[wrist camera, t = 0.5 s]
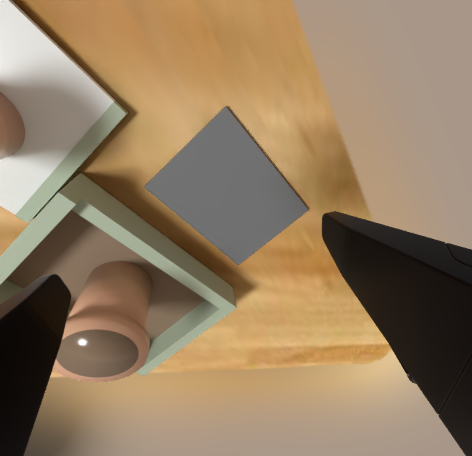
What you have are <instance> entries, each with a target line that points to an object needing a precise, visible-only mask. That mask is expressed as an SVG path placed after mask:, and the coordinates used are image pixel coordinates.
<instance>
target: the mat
mask: <svg viewBox="0 0 472 456" xmlns="http://www.w3.org/2000/svg"><path fill="white" fill-rule="evenodd" d="M145 188H146V189H147V190H148V191H150V192H151V193H152V194H153V195H154V196H156V197H157V198H158V199H159V200H160V201H162V202H163V203H164V204H165V205H166V206H168V207H169V208H170V209H171V210H172V211H174V212H175V213H176V214H177V215H178V216H180V217H181V218H182V219H183V220H185V221H186V222H187V223H188V224H189V225H191V226H192V227H193V228H194V229H195V230H197V231H198V232H199V233H200V234H201V235H203V236H204V237H205V238H206V239H207V240H209V241H210V242H211V243H212V244H213V245H215V246H216V247H217V248H218V249H219V250H221V251H222V252H223V253H224V254H225V255H227V256H228V257H229V258H230V259H231V260H233V261H234V262H235V263H236V264H237V265H239V264H240V263H242V262H243V261H244V260H246V259H247V258H248V257H249V256H251V255H252V254H253V253H254V252H256V251H257V250H258V249H260V248H261V247H262V246H263V245H265V244H266V243H267V242H269V241H270V240H271V239H272V238H274V237H275V236H276V235H277V234H279V233H280V232H281V231H283V230H284V229H285V228H286V227H288V226H289V225H290V224H291V223H293V222H294V221H295V220H297V219H298V218H299V217H300V216H302V215H303V214H304V213H306V212H307V211H308V208H307V207H306V206H305V205H304V203H303V202H302V201H301V200H300V198H299V197H298V196H297V195H296V193H295V192H294V191H293V190H292V188H291V187H290V186H289V185H288V183H287V182H286V181H285V180H284V178H283V177H282V176H281V175H280V173H279V172H278V171H277V170H276V168H275V167H274V166H273V165H272V163H271V162H270V161H269V160H268V158H267V157H266V156H265V155H264V153H263V152H262V151H261V150H260V148H259V147H258V146H257V145H256V143H255V142H254V141H253V140H252V138H251V137H250V136H249V135H248V133H247V132H246V131H245V130H244V128H243V127H242V126H241V125H240V123H239V122H238V121H237V120H236V118H235V117H234V116H233V115H232V113H231V112H230V111H229V110H228V108H227V107H226V106H225V107H224V108H223V109H222V110H221V111H220V112H219V113H218V114H217V115H216V116H215V117H214V118H213V119H212V120H211V121H210V122H209V123H208V124H207V125H206V126H205V127H204V128H203V129H202V130H201V131H200V132H199V133H198V134H197V135H196V136H195V137H194V138H193V139H192V140H191V141H190V142H189V143H188V144H187V145H186V146H185V147H184V148H183V149H182V150H181V151H180V152H179V153H178V154H177V155H176V156H175V157H174V158H173V159H172V160H171V161H170V162H169V163H168V164H167V165H166V166H165V167H164V168H163V169H162V170H161V171H160V172H159V173H158V174H157V175H156V176H155V177H154V178H153V179H151V180H150V181H149V182H148V183H147V184H146V185H145Z"/></svg>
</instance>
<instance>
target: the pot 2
mask: <svg viewBox="0 0 472 456" xmlns="http://www.w3.org/2000/svg"><path fill="white" fill-rule="evenodd" d="M152 289H153V283H152V279H151V277H150V276H149V274H148V273H147V272H146V271H145V270H144V269H142V268H141V267H139V266H137V265H135V264H132V263H129V262H123V261H113V262H107V263H104V264H101V265H99V266H98V267H96V268H95V269H94V270H93V271H92V272H91V273H90V275H89V277H88V279H87V281H86V283H85V285H84V287H83V289H82V291H81V293H80V295H79V297H78V299H77V301H76V303H75V305H74V307H73V309H72V310H71V312H70V314H69V316H68V318H67V320H66V325H65V329H64V334H63V338H62V342H61V345H60V348H59V351H58V354H57V357H56V360H55V363H54V366H53V369H54V370H56V371H57V372H59V373H60V374H62V375H64V376H67V377H69V378H72V379H76V380H81V381H87V382H107V381H114V380H118V379H121V378H125V377H127V376H129V375H131V374H133V373H135V372H136V371H138V370H139V369H140V368H141V367H142V366H143V365H144V364H145V362H146V360H147V358H148V352H149V345H150V338H149V334H148V332H147V331H146V324H147V318H148V312H149V306H150V300H151V295H152Z"/></svg>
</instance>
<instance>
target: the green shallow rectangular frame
mask: <svg viewBox="0 0 472 456" xmlns="http://www.w3.org/2000/svg"><path fill="white" fill-rule="evenodd" d="M113 261H123V262H129V263H132V264H135V265H137V266H139V267H141V268H142V269H144V270H145V271H146V272H147V273H148V274H149V276H150V277H151V279H152V283H153V289H152V295H151V300H150V306H149V312H148V318H147V324H146V331H147V332H148V334H149V338H150V345H149V352H148V358H147V360H146V362H145V364H144V365H143V366H142V367H141V368H140V369H139V370H138V371H136V372H135V373H138V374H140V375H143V376H145V375H146V374H148V373H149V372H150V371H152V370H153V369H154V368H156V367H157V366H158V365H160V364H161V363H163V362H164V361H165V360H167V359H168V358H169V357H171V356H172V355H173V354H175V353H176V352H177V351H179V350H180V349H182V348H183V347H184V346H186V345H187V344H188V343H190V342H191V341H192V340H194V339H195V338H197V337H198V336H199V335H201V334H202V333H203V332H205V331H206V330H207V329H209V328H210V327H212V326H213V325H214V324H216V323H217V322H218V321H220V320H221V319H222V318H224V317H225V316H227V315H228V314H229V313H231V312H232V311H233V310H235V309H236V308H237V306H236V301H235V296H234V291H233V287H232V286H231V285H229V284H228V283H227V282H225V281H224V280H223V279H221V278H220V277H219V276H217V275H216V274H215V273H213V272H212V271H211V270H209V269H208V268H207V267H205V266H204V265H203V264H201V263H200V262H199V261H197V260H196V259H195V258H194V257H192V256H191V255H190V254H188V253H187V252H186V251H184V250H183V249H182V248H180V247H179V246H178V245H176V244H175V243H174V242H172V241H171V240H170V239H168V238H167V237H166V236H164V235H163V234H162V233H160V232H159V231H158V230H156V229H155V228H154V227H152V226H151V225H150V224H148V223H147V222H146V221H145V220H143V219H142V218H141V217H139V216H138V215H137V214H135V213H134V212H133V211H131V210H130V209H129V208H127V207H126V206H125V205H123V204H122V203H121V202H119V201H118V200H117V199H115V198H114V197H113V196H111V195H110V194H109V193H107V192H106V191H105V190H103V189H102V188H101V187H99V186H98V185H97V184H95V183H94V182H93V181H92V180H90V179H89V178H88V177H86V176H85V175H84V174H82V173H80V174H78V175H77V176H76V177H75V178H74V179H73V180H72V181H71V182H69V183H68V184H67V185H66V186H65V187H64V188H63V189H61V190H60V191H59V192H58V193H57V194H56V195H55V197H54V198H53V199H52V200H51V201H50V202H49V203H48V204H47V205H46V206H45V208H44V209H43V210H42V211H41V212H40V213H39V214H38V215H37V216H36V218H35V219H34V220H33V221H32V222H31V223H30V224H29V225H28V226H27V228H26V229H25V230H24V231H23V232H22V233H21V234H20V235H19V236H18V237H17V239H16V240H15V241H14V242H13V243H12V244H11V245H10V246H9V247H8V249H7V250H6V251H5V252H4V253H3V254H2V255H1V256H0V304H1V303H2V302H4V301H5V300H7V299H8V298H10V297H11V296H13V295H14V294H16V293H17V292H19V291H21V290H22V289H24V288H25V287H27V286H28V285H30V284H31V283H33V282H34V281H36V280H37V279H39V278H40V277H42V276H46V275H51V274H57V275H59V276H60V278H61V279H62V280H63V282H64V283H65V285H66V286H67V287H68V289H69V290H70V293H71V302H70V307H69V311H68V316H69V314H70V312H71V310H72V309H73V307H74V305H75V303H76V301H77V299H78V297H79V295H80V293H81V291H82V289H83V287H84V285H85V283H86V281H87V279H88V277H89V275H90V273H91V272H92V271H93V270H94V269H95V268H96V267H98V266H99V265H101V264H104V263H107V262H113ZM68 316H67V318H68Z"/></svg>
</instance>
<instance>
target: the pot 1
mask: <svg viewBox="0 0 472 456" xmlns="http://www.w3.org/2000/svg"><path fill="white" fill-rule="evenodd" d="M24 139H25V127H24V123H23V120H22V117H21V115H20V114H19V112H18V110H17V109H16V107H15V106H14V105H13V103H12V102H11V101H10V100H9V99H8V98H7V97H6V96H5V95H3V94H2V93H1V92H0V160H1V159H3V158H6V157H8V156H10V155H12V154H14V153H16V152H17V151H18V150H19V149H20V148H21V146H22V145H23V143H24Z"/></svg>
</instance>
